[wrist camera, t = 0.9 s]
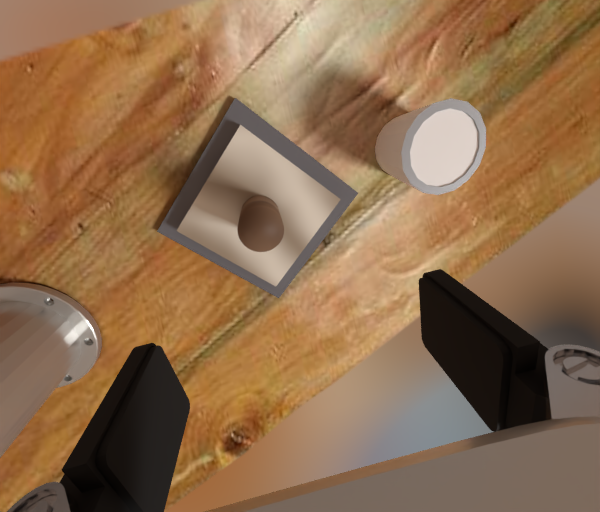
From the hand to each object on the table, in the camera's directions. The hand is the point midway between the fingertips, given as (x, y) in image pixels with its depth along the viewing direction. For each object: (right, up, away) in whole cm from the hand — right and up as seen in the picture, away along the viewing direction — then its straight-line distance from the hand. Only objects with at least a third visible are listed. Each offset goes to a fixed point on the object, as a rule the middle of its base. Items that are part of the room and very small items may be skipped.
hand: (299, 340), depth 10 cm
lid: (-4, +7, +18) cm, 20 cm away
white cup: (+10, +14, +18) cm, 25 cm away
